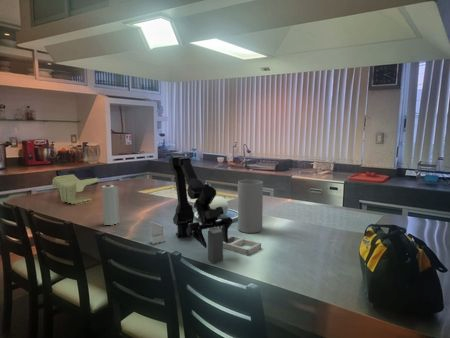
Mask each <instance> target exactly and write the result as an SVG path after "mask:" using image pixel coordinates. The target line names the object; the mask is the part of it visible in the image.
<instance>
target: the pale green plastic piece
mask: <svg viewBox="0 0 450 338" xmlns="http://www.w3.org/2000/svg"><path fill="white" fill-rule="evenodd" d="M98 182H99V177H94V178H86V179H79V178H78V177H77V176H76V175H75V174H73V173H72V174H71V173H70V174H65V175H59V176H58V175H57V176H55V177H53V178H52V188H57V190H58V191H59V195H60V200H61V202H62V203H65V202H67V203H66V204H69V203H71V204H70V205H73V203H78V202H82V201H87V200H92V198H91V197H87V196H78V197H76V195H77V193H79V192H83V191H84V188H85V187H86V186H91V185H93V184H96V183H98Z"/></svg>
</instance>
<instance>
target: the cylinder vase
mask: <svg viewBox="0 0 450 338" xmlns="http://www.w3.org/2000/svg"><path fill="white" fill-rule="evenodd" d="M263 193H264V182H263V181H262V180H259V179H243V180H242V179H240V180H238V181H237V229H238V231H239V232H242V233H244V234H257V233H260V232H261V231H262V230H263V210H264V209H263V205H264V204H263V203H264V202H263V200H264V199H263V198H264V194H263Z"/></svg>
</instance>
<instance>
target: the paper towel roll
mask: <svg viewBox="0 0 450 338" xmlns="http://www.w3.org/2000/svg"><path fill="white" fill-rule="evenodd" d="M101 196H102V198H101V199H102V211H103V212H102V213H103V214H102V217H103V225H104V226H105V225H111V226H115V225H114V224H116V225H118V224H117V223H119V224H120V223H121V222H120V221H121V220H120V217H121V216H120V199H119V186H118V185H115V186H114V184H110V185H109V184H108V185H102V186H101Z"/></svg>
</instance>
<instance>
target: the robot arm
mask: <svg viewBox="0 0 450 338" xmlns="http://www.w3.org/2000/svg"><path fill="white" fill-rule="evenodd" d="M191 161H192V160H191V157H189V156H185V155H181V154H179V155H171V156H170V157H169V158H168V164H169V168H170V170H171V171H172V173H173V175H174V181H175V188H176V195H177V206H176V208H175V213H174V216H173V217H172V218H173V219H172V222H173V223H172V224H174V225H176V227H177V232H175V235H176V236H177V238H179V239H180V238H186V237H191V238H194V239H195V240H196V241H198V242H199V243H200V244H201V246H203V247H204V248H205V249H208V244H207V242H206V239H205V236H204V234H203V230H209V228H215V227H218V228H220V229H222V232H223V239H224V241H225V242H226V244H227V243H228V234H229V233H228V232H229V229H230V227H231V226H232V224H233V223H234V221H233V219H232V218H233V217H229V216H226V217H222V218H221V220H220V221H218V220H219V218H220V217H221V216H222V215H224V214H225V212H224V209H223V207H222V206H217V207H216V208H214V209H213V208H211V206H210V205H211V204H212V203H213V201H214V199H215V198H216V195H217V190H216V188H214V187H213V186H210V185H209V183H206V184H205V183H204V182H203V181H202V180H199V178H198V176H197V174H196V172H195V169H194V167H193V165H192V162H191ZM187 185H188V186H187ZM188 197H189V198H188ZM189 199H190V200H195V201H194V204H193V205H192V204H190V202H189ZM193 208H194V209H196V212H197V216H198V217H197V219H198V220H199V221H200V222H198V221H197V222H194V218H195V213H194V211H193V210H194V209H193Z"/></svg>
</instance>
